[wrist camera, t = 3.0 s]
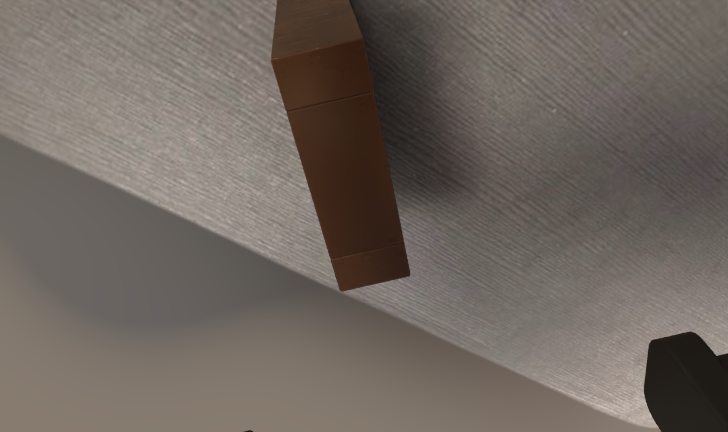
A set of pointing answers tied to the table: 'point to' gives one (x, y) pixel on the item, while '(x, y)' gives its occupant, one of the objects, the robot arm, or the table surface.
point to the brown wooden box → (339, 138)
